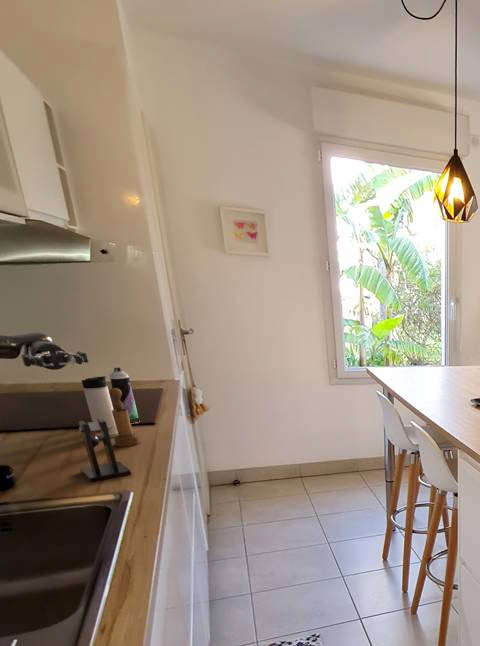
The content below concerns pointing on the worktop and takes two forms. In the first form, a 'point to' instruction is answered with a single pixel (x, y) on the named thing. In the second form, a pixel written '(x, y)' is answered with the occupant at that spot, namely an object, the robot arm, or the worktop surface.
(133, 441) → the wooden pepper mill
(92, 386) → the travel mug
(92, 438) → the tap lever
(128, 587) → the worktop surface
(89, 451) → the bracket
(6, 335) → the robot arm
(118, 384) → the spray can
